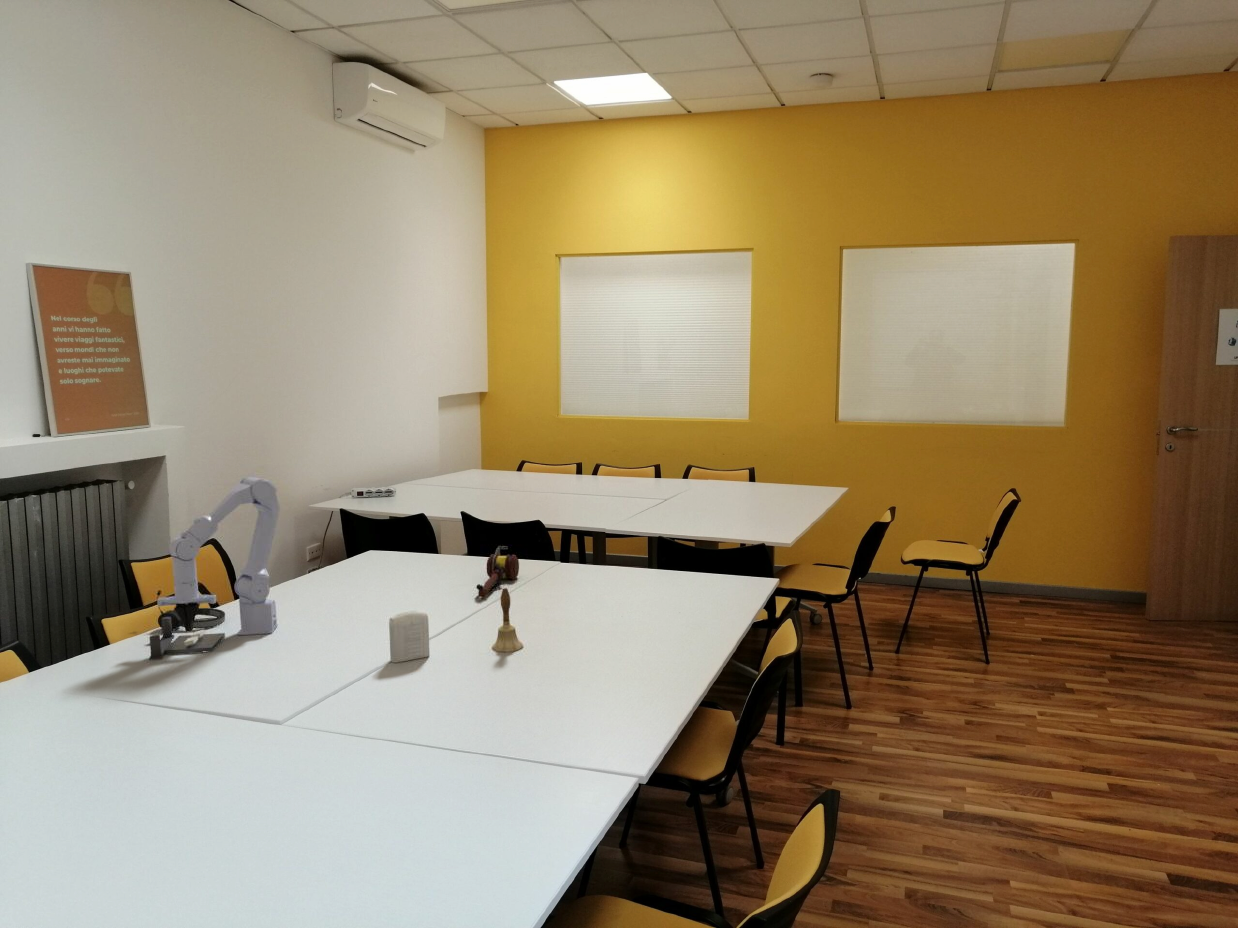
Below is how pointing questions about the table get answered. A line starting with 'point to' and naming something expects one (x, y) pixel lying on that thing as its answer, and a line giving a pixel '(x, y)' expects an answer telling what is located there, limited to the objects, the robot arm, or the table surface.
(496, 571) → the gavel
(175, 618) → the headset
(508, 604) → the hand bell
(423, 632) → the engraved stone tablet
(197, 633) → the paddle
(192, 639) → the paddle
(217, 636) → the switch panel
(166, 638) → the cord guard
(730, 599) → the table surface
